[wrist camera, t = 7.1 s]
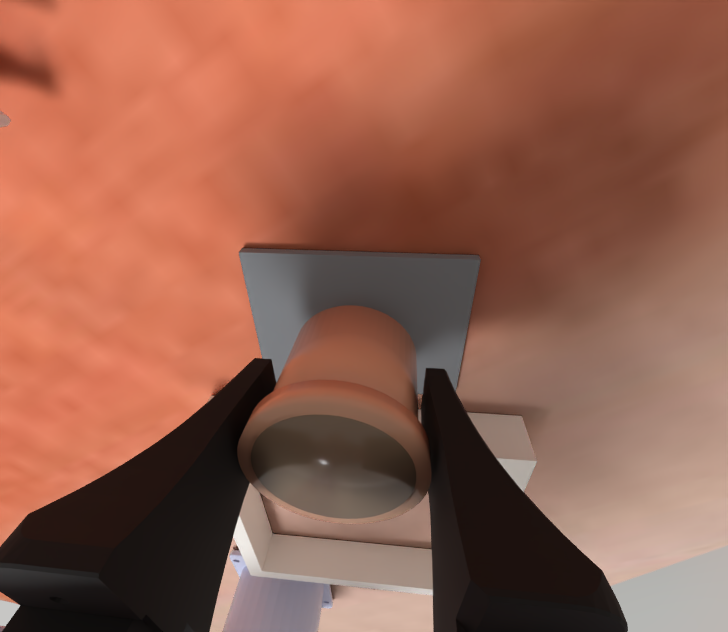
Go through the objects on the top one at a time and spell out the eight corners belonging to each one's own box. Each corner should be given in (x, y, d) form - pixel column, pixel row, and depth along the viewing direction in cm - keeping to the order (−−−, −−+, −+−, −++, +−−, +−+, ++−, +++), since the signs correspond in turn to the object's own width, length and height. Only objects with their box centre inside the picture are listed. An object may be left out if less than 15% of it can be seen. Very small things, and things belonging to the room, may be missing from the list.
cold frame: (470, 559, 27) (476, 600, 25) (262, 538, 28) (250, 575, 26) (521, 415, 18) (537, 461, 16) (211, 395, 19) (187, 434, 17)
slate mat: (453, 390, 17) (454, 396, 17) (270, 378, 18) (268, 384, 18) (478, 255, 13) (480, 259, 13) (242, 247, 14) (238, 252, 14)
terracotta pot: (419, 410, 15) (422, 533, 11) (295, 401, 16) (254, 516, 12) (430, 301, 12) (441, 413, 8) (278, 294, 13) (216, 396, 9)
